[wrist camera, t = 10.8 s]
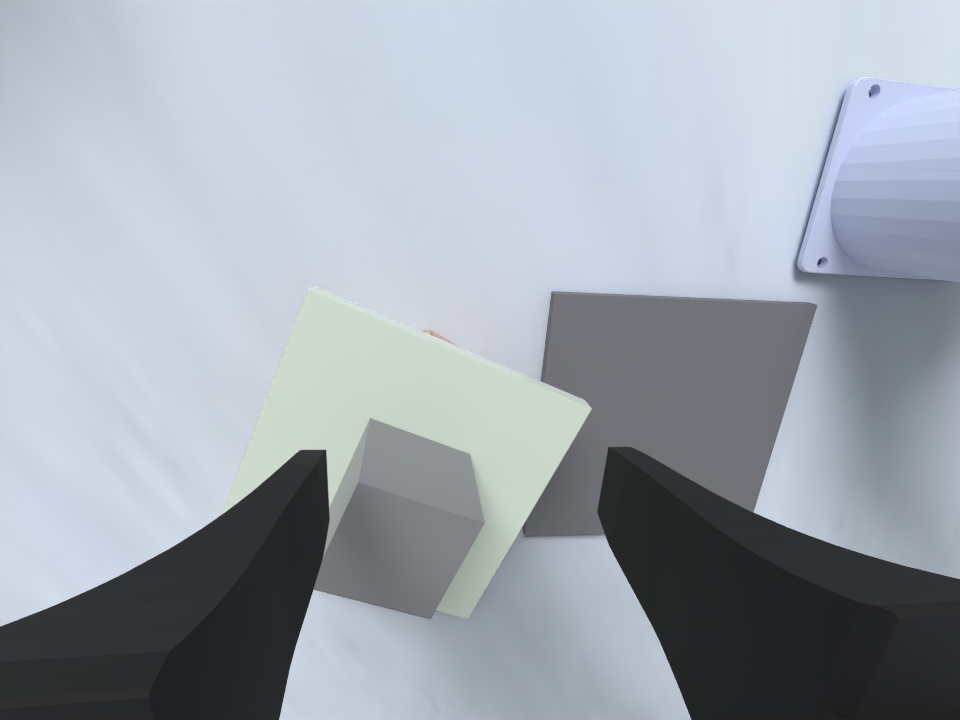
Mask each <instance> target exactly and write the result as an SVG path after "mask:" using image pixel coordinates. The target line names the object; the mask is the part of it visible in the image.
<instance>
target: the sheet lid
mask: <svg viewBox="0 0 960 720" xmlns="http://www.w3.org/2000/svg"><path fill="white" fill-rule="evenodd" d="M591 410H592V408H591V407H590V406H589V404H588V403H587V402H586V401H585V400H584V399H581V398H579V397H577V396H574V395H572V394H569V393H567V392H565V391H562V390H560V389H558V388H555V387H553V386H550V385H548V384H546V383H543V382H541V381H539V380H536V379H534V378H532V377H529V376H527V375H524V374H522V373H520V372H517V371H515V370H513V369H510V368H508V367H506V366H503V365H501V364H498V363H496V362H494V361H491V360H489V359H487V358H484V357H482V356H479V355H477V354H475V353H472V352H470V351H468V350H465V349H463V348H461V347H458V346H456V345H453V344H451V343H449V342H446V341H444V340H442V339H439V338H437V337H435V336H432V335H430V334H427V333H425V332H423V331H420V330H418V329H416V328H413V327H411V326H409V325H406V324H404V323H401V322H399V321H397V320H394V319H392V318H390V317H387V316H385V315H382V314H380V313H378V312H375V311H373V310H371V309H368V308H366V307H364V306H361V305H359V304H356V303H354V302H352V301H349V300H347V299H345V298H342V297H340V296H338V295H335V294H333V293H330V292H328V291H326V290H323V289H321V288H319V287H316V286H314V285H312V286H311V287H310V288H309V289H308V290H307V293H306V296H305V298H304V301H303V303H302V306H301V309H300V311H299V314H298V316H297V319H296V322H295V324H294V327H293V329H292V332H291V335H290V337H289V340H288V342H287V345H286V348H285V350H284V353H283V355H282V358H281V361H280V363H279V366H278V368H277V371H276V374H275V376H274V379H273V382H272V384H271V387H270V389H269V392H268V395H267V397H266V400H265V402H264V405H263V408H262V410H261V413H260V415H259V418H258V421H257V423H256V426H255V428H254V431H253V434H252V436H251V439H250V441H249V444H248V447H247V449H246V452H245V454H244V457H243V460H242V462H241V465H240V467H239V470H238V473H237V475H236V478H235V480H234V483H233V486H232V488H231V491H230V493H229V496H228V499H227V501H226V504H225V506H224V509H223V512H222V514H224V513H225V512H226V511H227V510H229V509H230V508H231V507H233V506H234V505H235V504H237V503H238V502H239V501H241V500H242V499H243V498H244V497H246V496H247V495H248V494H250V493H251V492H252V491H253V490H255V489H256V488H257V487H258V486H259V485H260V484H262V483H263V482H264V481H265V480H266V479H267V478H269V477H270V476H271V475H272V474H273V473H274V472H275V471H277V470H278V469H279V468H280V467H281V466H282V465H283V464H284V463H286V462H287V461H288V460H289V459H290V458H291V457H292V456H294V455H295V454H296V453H297V452H298V451H300V450H326V455H327V475H328V495H329V515H330V521H329V527H328V533H327V539H326V545H325V550H324V555H323V560H322V563H321V566H320V570H319V573H318V576H317V579H316V583H315V586H314V589H313V590H317V591H321V592H325V593H329V594H333V595H337V596H341V597H345V598H349V599H353V600H357V601H361V602H364V603H368V604H372V605H376V606H380V607H384V608H388V609H392V610H396V611H400V612H404V613H408V614H412V615H416V616H420V617H424V618H428V619H431V618H432V616H433V614H434V612H435V611H438V612H442V613H446V614H450V615H454V616H458V617H462V618H465V619H468V618H469V616H470V614H471V613H472V611H473V609H474V608H475V606H476V604H477V603H478V601H479V599H480V598H481V596H482V594H483V592H484V591H485V589H486V587H487V586H488V584H489V582H490V581H491V579H492V577H493V576H494V574H495V572H496V570H497V569H498V567H499V565H500V564H501V562H502V560H503V559H504V557H505V555H506V554H507V552H508V550H509V548H510V547H511V545H512V543H513V542H514V540H515V538H516V537H517V535H518V533H519V531H520V530H521V528H522V526H523V525H524V523H525V521H526V520H527V518H528V516H529V515H530V513H531V511H532V509H533V508H534V506H535V504H536V503H537V501H538V499H539V498H540V496H541V494H542V493H543V491H544V489H545V487H546V486H547V484H548V482H549V481H550V479H551V477H552V476H553V474H554V472H555V471H556V469H557V467H558V465H559V464H560V462H561V460H562V459H563V457H564V455H565V454H566V452H567V450H568V449H569V447H570V445H571V443H572V442H573V440H574V438H575V437H576V435H577V433H578V432H579V430H580V428H581V426H582V425H583V423H584V421H585V420H586V418H587V416H588V415H589V413H590V411H591ZM222 514H221V515H222Z"/></svg>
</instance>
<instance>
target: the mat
mask: <svg viewBox="0 0 960 720" xmlns="http://www.w3.org/2000/svg"><path fill="white" fill-rule="evenodd" d="M816 308H817V305H815V304H812V303H803V302H780V301H757V300H735V299H712V298H689V297H666V296H644V295H621V294H598V293H575V292H553V291H552V294H551V302H550V310H549V318H548V327H547V335H546V343H545V352H544V360H543V368H542V377H541V382H543V383H546V384H548V385H550V386H553V387H555V388H558V389H560V390H562V391H565V392H567V393H569V394H572V395H574V396H577V397H579V398H581V399H584V400H585V401H586V402H587V403H588V404H589V406H590V407H591V408H592V410H591V411H590V413H589V415H588V416H587V418H586V420H585V421H584V423H583V425H582V426H581V428H580V430H579V432H578V433H577V435H576V437H575V438H574V440H573V442H572V443H571V445H570V447H569V449H568V450H567V452H566V454H565V455H564V457H563V459H562V460H561V462H560V464H559V465H558V467H557V469H556V471H555V472H554V474H553V476H552V477H551V479H550V481H549V482H548V484H547V486H546V487H545V489H544V491H543V493H542V494H541V496H540V498H539V499H538V501H537V503H536V504H535V506H534V508H533V509H532V511H531V513H530V515H529V516H528V518H527V520H526V521H525V523H524V526H523V532H524V535H525V537H531V536H561V535H590V534H605V533H604V530H603V527H602V525H601V522H600V519H599V516H598V513H597V510H598V504H599V498H600V493H601V487H602V481H603V475H604V469H605V464H606V458H607V452H608V447H632V448H634V449H637V450H639V451H641V452H643V453H645V454H646V455H648V456H650V457H652V458H654V459H655V460H657V461H659V462H661V463H662V464H664V465H666V466H668V467H669V468H671V469H673V470H674V471H676V472H678V473H680V474H681V475H683V476H685V477H687V478H688V479H690V480H692V481H694V482H695V483H697V484H699V485H701V486H702V487H704V488H706V489H708V490H710V491H712V492H713V493H715V494H717V495H719V496H721V497H723V498H725V499H727V500H729V501H731V502H733V503H735V504H737V505H739V506H741V507H743V508H745V509H747V510H749V511H751V512H754V508H755V505H756V502H757V499H758V495H759V492H760V489H761V486H762V482H763V479H764V476H765V473H766V470H767V466H768V463H769V460H770V457H771V453H772V450H773V447H774V444H775V440H776V437H777V434H778V431H779V428H780V424H781V421H782V418H783V415H784V411H785V408H786V405H787V402H788V398H789V395H790V392H791V389H792V385H793V382H794V379H795V376H796V373H797V369H798V366H799V363H800V360H801V356H802V353H803V350H804V347H805V343H806V340H807V337H808V334H809V330H810V327H811V324H812V321H813V318H814V314H815V311H816Z"/></svg>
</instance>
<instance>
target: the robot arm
mask: <svg viewBox="0 0 960 720" xmlns="http://www.w3.org/2000/svg"><path fill="white" fill-rule="evenodd" d="M870 88H871V90H872V94H871V96H870V97H869V90H870ZM820 258H821V262H820V264H819V265H818V266H817V262H818V260H819V259H820ZM797 266H798V269H799V270H800V271H803V272H807V273H820V274H838V275H857V276H875V277H893V278H912V279H930V280H948V281H954V282H959V283H960V88H952V87H944V86H936V85H928V84H920V83H912V82H904V81H896V80H888V79H880V78H872V77H862V78H858V79H855V80H854V81H852V82H851V83H850V84H849V86H848V88H847V90H846V93H845V96H844V100H843V103H842V107H841V110H840V114H839V117H838V121H837V124H836V128H835V131H834V135H833V138H832V142H831V145H830V149H829V152H828V156H827V159H826V163H825V166H824V170H823V173H822V177H821V180H820V184H819V187H818V191H817V194H816V198H815V201H814V205H813V208H812V212H811V215H810V219H809V222H808V226H807V229H806V233H805V236H804V240H803V243H802V247H801V250H800V254H799V257H798V261H797ZM597 513H598V516H599V519H600V522H601V525H602V527H603V530H604V533H605V535H606V538H607V541H608V543H609V546H610V548H611V550H612V552H613V554H614V556H615V557H616V559H617V561H618V563H619V565H620V567H621V569H622V571H623V573H624V574H625V576H626V578H627V580H628V582H629V584H630V585H631V587H632V589H633V591H634V593H635V595H636V597H637V598H638V600H639V602H640V604H641V606H642V608H643V609H644V611H645V613H646V615H647V617H648V619H649V621H650V622H651V624H652V626H653V628H654V630H655V633H656V635H657V637H658V639H659V641H660V643H661V645H662V648H663V650H664V652H665V655H666V657H667V660H668V662H669V664H670V667H671V669H672V671H673V674H674V676H675V679H676V681H677V683H678V686H679V689H680V691H681V694H682V696H683V699H684V702H685V704H686V707H687V709H688V712H689V714H690V717H691V720H960V579H956V578H952V577H948V576H944V575H939V574H935V573H931V572H927V571H923V570H919V569H914V568H910V567H906V566H902V565H899V564H895V563H892V562H888V561H885V560H881V559H878V558H874V557H871V556H868V555H864V554H861V553H858V552H855V551H851V550H848V549H845V548H842V547H839V546H836V545H833V544H830V543H828V542H825V541H822V540H819V539H817V538H814V537H811V536H808V535H806V534H803V533H800V532H798V531H795V530H793V529H790V528H788V527H785V526H783V525H780V524H778V523H776V522H774V521H771V520H769V519H767V518H764V517H762V516H760V515H758V514H755V513H753V512H751V511H749V510H747V509H745V508H743V507H741V506H739V505H737V504H735V503H733V502H731V501H729V500H727V499H725V498H723V497H721V496H719V495H717V494H715V493H713V492H712V491H710V490H708V489H706V488H704V487H702V486H701V485H699V484H697V483H695V482H694V481H692V480H690V479H688V478H687V477H685V476H683V475H681V474H680V473H678V472H676V471H674V470H673V469H671V468H669V467H668V466H666V465H664V464H662V463H661V462H659V461H657V460H655V459H654V458H652V457H650V456H648V455H646V454H645V453H643V452H641V451H639V450H637V449H634V448H632V447H608V452H607V458H606V464H605V469H604V475H603V481H602V487H601V493H600V498H599V504H598V510H597ZM329 521H330V515H329V495H328V475H327V455H326V450H300V451H298V452H297V453H296V454H295V455H294V456H292V457H291V458H290V459H289V460H288V461H287V462H286V463H284V464H283V465H282V466H281V467H280V468H279V469H278V470H277V471H275V472H274V473H273V474H272V475H271V476H270V477H269V478H267V479H266V480H265V481H264V482H263V483H262V484H260V485H259V486H258V487H257V488H256V489H255V490H253V491H252V492H251V493H250V494H248V495H247V496H246V497H244V498H243V499H242V500H241V501H239V502H238V503H237V504H235V505H234V506H233V507H231V508H230V509H229V510H227V511H226V512H225V513H224V514H222V515H221V516H220V517H218V518H217V519H215V520H214V521H213V522H211V523H210V524H208V525H207V526H205V527H204V528H202V529H201V530H199V531H198V532H196V533H195V534H193V535H191V536H190V537H188V538H187V539H185V540H183V541H182V542H180V543H179V544H177V545H175V546H174V547H172V548H170V549H169V550H167V551H165V552H163V553H161V554H159V555H157V556H156V557H154V558H152V559H150V560H148V561H146V562H145V563H143V564H141V565H139V566H137V567H135V568H133V569H132V570H130V571H128V572H126V573H124V574H122V575H120V576H118V577H116V578H114V579H112V580H110V581H108V582H106V583H104V584H102V585H99V586H97V587H95V588H93V589H91V590H89V591H86V592H84V593H82V594H80V595H77V596H75V597H73V598H71V599H68V600H66V601H64V602H62V603H59V604H57V605H55V606H52V607H50V608H47V609H45V610H43V611H40V612H37V613H35V614H32V615H30V616H27V617H24V618H22V619H19V620H17V621H14V622H11V623H9V624H6V625H4V626H1V627H0V720H279V717H280V712H281V707H282V703H283V698H284V693H285V688H286V684H287V679H288V674H289V669H290V665H291V662H292V658H293V654H294V650H295V647H296V643H297V640H298V637H299V634H300V631H301V627H302V624H303V621H304V618H305V615H306V611H307V608H308V605H309V602H310V599H311V595H312V592H313V589H314V586H315V583H316V579H317V576H318V573H319V570H320V566H321V563H322V560H323V555H324V550H325V545H326V539H327V533H328V527H329Z"/></svg>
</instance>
